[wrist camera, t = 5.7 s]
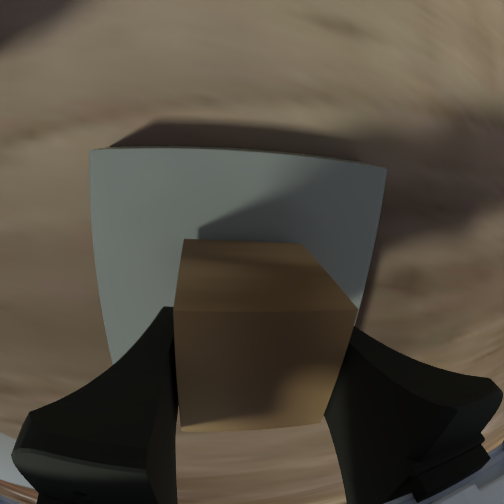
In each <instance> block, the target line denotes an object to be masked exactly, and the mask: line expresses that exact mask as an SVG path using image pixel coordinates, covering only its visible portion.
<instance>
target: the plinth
mask: <svg viewBox="0 0 504 504" xmlns="http://www.w3.org/2000/svg"><path fill="white" fill-rule="evenodd" d="M89 172H90V206H91V223H92V236H93V247H94V257H95V266H96V274H97V282H98V289H99V295H100V302H101V308H102V314H103V319H104V325H105V330H106V335H107V340H108V345H109V349H110V354H111V358H112V363H113V364H115V363H116V362H117V361H118V360H119V359H120V358H121V357H122V356H123V355H124V354H125V353H126V352H127V351H128V350H129V349H130V348H131V347H132V346H133V345H134V344H135V343H136V341H137V340H138V339H139V338H140V337H141V336H142V334H143V333H144V332H145V331H146V329H147V328H148V327H149V326H150V324H151V323H152V322H153V320H154V319H155V317H156V316H157V314H158V313H159V311H160V310H161V309H162V308H163V307H164V306H168V307H174V301H175V293H176V286H177V279H178V273H179V266H180V259H181V253H182V247H183V241H184V239H203V240H229V241H254V242H277V243H300V244H303V245H304V247H305V248H306V249H307V250H308V251H309V252H310V253H311V255H312V256H313V257H314V258H315V259H316V260H317V261H318V263H319V264H320V265H321V266H322V267H323V268H324V269H325V271H326V272H327V273H328V274H329V275H330V276H331V278H332V279H333V280H334V281H335V282H336V283H337V285H338V286H339V287H340V288H341V289H342V290H343V292H344V293H345V294H346V295H347V296H348V297H349V299H350V300H351V301H352V302H353V303H354V305H355V306H356V307H357V308H358V309H359V308H360V304H361V300H362V296H363V292H364V288H365V284H366V280H367V276H368V271H369V267H370V263H371V258H372V254H373V249H374V244H375V239H376V234H377V229H378V224H379V218H380V213H381V207H382V201H383V195H384V189H385V182H386V175H387V168H384V167H380V166H376V165H372V164H368V163H364V162H359V161H352V160H345V159H338V158H331V157H323V156H315V155H307V154H298V153H288V152H278V151H267V150H254V149H239V148H222V147H196V146H122V147H105V148H99V149H94V150H90V156H89ZM358 311H359V310H358ZM357 315H358V313H357ZM356 319H357V317H356ZM355 322H356V320H355ZM354 326H355V324H354Z"/></svg>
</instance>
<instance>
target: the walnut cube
mask: <svg viewBox="0 0 504 504" xmlns="http://www.w3.org/2000/svg"><path fill="white" fill-rule="evenodd" d="M358 310H359V309H358V308H357V307H356V306H355V305H354V303H353V302H352V301H351V300H350V299H349V297H348V296H347V295H346V294H345V293H344V292H343V290H342V289H341V288H340V287H339V286H338V285H337V283H336V282H335V281H334V280H333V279H332V278H331V276H330V275H329V274H328V273H327V272H326V271H325V269H324V268H323V267H322V266H321V265H320V264H319V263H318V261H317V260H316V259H315V258H314V257H313V256H312V255H311V253H310V252H309V251H308V250H307V249H306V248H305V247H304V245H303V244H300V243H277V242H254V241H229V240H203V239H184V241H183V247H182V253H181V259H180V266H179V273H178V279H177V286H176V293H175V301H174V308H173V318H174V342H175V361H176V376H177V389H178V401H179V412H180V422H181V431H243V430H260V429H272V428H283V427H292V426H301V425H309V424H316V423H321V420H322V418H323V415H324V412H325V410H326V407H327V405H328V402H329V399H330V397H331V394H332V391H333V388H334V386H335V383H336V380H337V377H338V374H339V371H340V368H341V365H342V362H343V359H344V356H345V353H346V350H347V347H348V344H349V340H350V337H351V334H352V331H353V327H354V324H355V320H356V317H357V313H358Z"/></svg>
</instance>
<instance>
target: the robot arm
mask: <svg viewBox="0 0 504 504" xmlns="http://www.w3.org/2000/svg"><path fill="white" fill-rule="evenodd" d="M173 308H174V307H168V306H164V307H163V308H162V309H161V310H160V311H159V313H158V314H157V316H156V317H155V319H154V320H153V322H152V323H151V324H150V326H149V327H148V328H147V329H146V331H145V332H144V333H143V334H142V336H141V337H140V338H139V339H138V340H137V341H136V343H135V344H134V345H133V346H132V347H131V348H130V349H129V350H128V351H127V352H126V353H125V354H124V355H123V356H122V357H121V358H120V359H119V360H118V361H117V362H116V363H115V364H113V365H112V366H111V367H110V368H109V369H108V370H106V371H105V372H104V373H102V374H101V375H100V376H98V377H97V378H95V379H94V380H93V381H91V382H90V383H88V384H87V385H85V386H84V387H82V388H80V389H79V390H77V391H75V392H73V393H71V394H70V395H68V396H66V397H64V398H62V399H60V400H58V401H56V402H53V403H51V404H48V405H46V406H44V407H41V408H39V409H36V410H34V411H31V412H29V414H28V416H27V418H26V419H25V421H24V423H23V425H22V428H21V430H20V433H19V435H18V438H17V441H16V443H15V446H14V449H13V452H12V454H11V456H12V460H13V463H14V464H15V466H16V468H17V469H18V470H19V472H20V473H21V474H22V475H23V476H24V478H25V479H26V480H27V481H28V482H29V483H30V484H31V485H32V486H33V487H34V488H35V490H36V491H37V492H38V493H39V495H38V500H37V504H178V503H177V486H176V455H175V435H176V422H177V414H178V406H179V401H178V389H177V376H176V361H175V342H174V318H173ZM502 398H503V392H502V390H501V389H500V388H499V387H498V386H497V385H496V384H495V383H494V382H493V381H492V380H491V379H489V378H484V377H477V376H470V375H464V374H459V373H455V372H451V371H447V370H443V369H440V368H436V367H433V366H431V365H428V364H425V363H422V362H419V361H417V360H415V359H412V358H410V357H408V356H405V355H403V354H401V353H399V352H397V351H395V350H393V349H391V348H389V347H387V346H386V345H384V344H382V343H380V342H379V341H377V340H375V339H373V338H372V337H370V336H369V335H367V334H365V333H364V332H362V331H361V330H359V329H358V328H356V327H355V326H354V327H353V331H352V334H351V337H350V340H349V344H348V347H347V350H346V353H345V356H344V359H343V362H342V365H341V368H340V371H339V374H338V377H337V380H336V383H335V386H334V388H333V391H332V394H331V397H330V399H329V402H328V405H327V407H326V410H325V412H324V416H325V419H326V421H327V424H328V427H329V429H330V433H331V436H332V439H333V443H334V446H335V450H336V454H337V458H338V461H339V465H340V469H341V474H342V479H343V484H344V488H345V494H346V500H347V504H504V441H503V443H502V444H501V445H499V446H498V447H496V448H495V449H493V450H492V451H490V452H489V453H487V452H486V450H485V449H484V448H483V446H482V445H481V444H482V443H483V442H484V441H485V438H484V437H483V435H482V434H481V431H482V430H483V429H484V428H485V426H486V425H487V424H488V422H489V421H490V420H491V418H492V417H493V416H494V414H495V413H496V411H497V410H498V408H499V406H500V404H501V402H502ZM0 504H22V503H20V502H17V501H15V500H12V499H10V498H7V497H5V496H2V495H0Z"/></svg>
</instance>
